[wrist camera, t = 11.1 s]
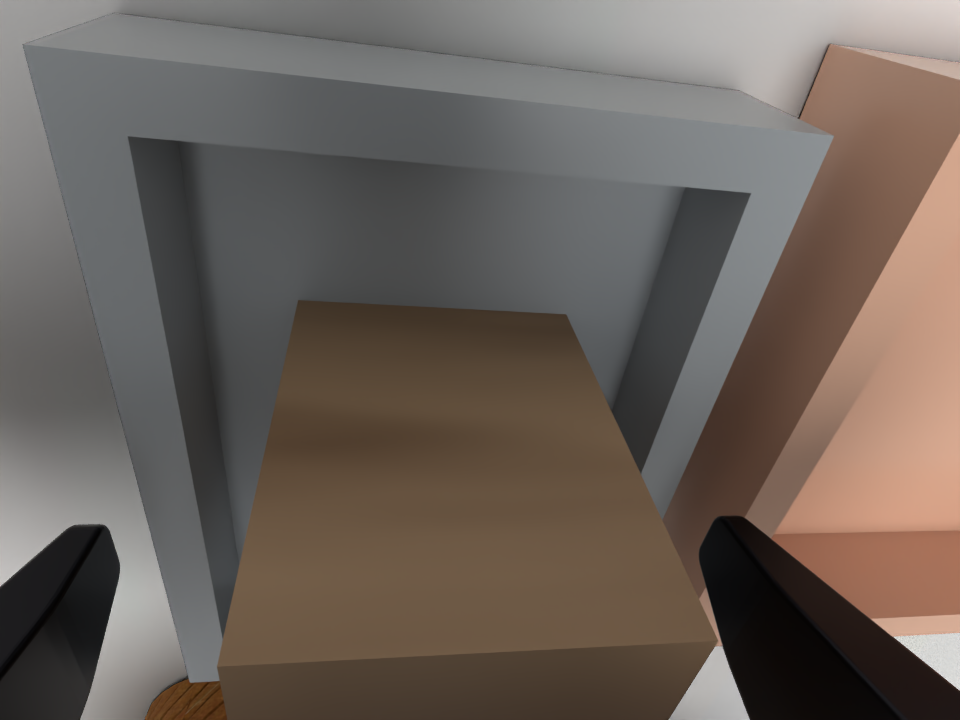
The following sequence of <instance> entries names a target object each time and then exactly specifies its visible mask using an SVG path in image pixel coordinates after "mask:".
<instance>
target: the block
mask: <svg viewBox="0 0 960 720" xmlns="http://www.w3.org/2000/svg"><path fill="white" fill-rule="evenodd" d="M717 642H718V639H717V637H716V635H715V632H714V630H713V628H712V626H711V624H710V622H709V620H708V617H707V615H706V613H705V611H704V609H703V607H702V604H701V602H700V600H699V598H698V596H697V594H696V592H695V589H694V587H693V585H692V583H691V581H690V579H689V577H688V574H687V572H686V570H685V568H684V566H683V564H682V562H681V559H680V557H679V555H678V553H677V551H676V549H675V547H674V544H673V542H672V540H671V538H670V536H669V534H668V532H667V529H666V527H665V525H664V523H663V521H662V519H661V517H660V514H659V512H658V510H657V508H656V506H655V504H654V502H653V499H652V497H651V495H650V493H649V491H648V489H647V486H646V484H645V482H644V480H643V478H642V476H641V474H640V471H639V469H638V467H637V465H636V463H635V461H634V459H633V456H632V454H631V452H630V450H629V448H628V446H627V444H626V441H625V439H624V437H623V435H622V433H621V431H620V429H619V426H618V424H617V422H616V420H615V418H614V416H613V414H612V411H611V409H610V407H609V405H608V403H607V401H606V399H605V396H604V394H603V392H602V390H601V388H600V386H599V384H598V381H597V379H596V377H595V375H594V373H593V371H592V368H591V366H590V364H589V362H588V360H587V358H586V356H585V353H584V351H583V349H582V347H581V345H580V343H579V341H578V338H577V336H576V334H575V332H574V330H573V328H572V326H571V323H570V321H569V319H568V317H567V315H566V314H551V313H532V312H513V311H494V310H475V309H456V308H437V307H418V306H399V305H380V304H361V303H342V302H323V301H304V300H298V303H297V307H296V312H295V316H294V321H293V325H292V330H291V334H290V339H289V343H288V348H287V352H286V357H285V362H284V366H283V371H282V375H281V380H280V384H279V389H278V393H277V398H276V402H275V407H274V411H273V416H272V420H271V425H270V429H269V434H268V438H267V443H266V447H265V452H264V456H263V461H262V465H261V470H260V474H259V479H258V483H257V488H256V492H255V497H254V501H253V506H252V510H251V515H250V519H249V524H248V528H247V533H246V538H245V542H244V547H243V551H242V556H241V560H240V565H239V569H238V574H237V578H236V583H235V587H234V592H233V596H232V601H231V605H230V610H229V614H228V619H227V623H226V628H225V632H224V637H223V641H222V646H221V650H220V655H219V659H218V664H217V670H218V675H219V680H220V685H221V690H222V695H223V700H224V705H225V710H226V715H227V720H668V719H669V718H670V716H671V715H672V713H673V712H674V710H675V708H676V707H677V705H678V704H679V702H680V701H681V699H682V697H683V696H684V694H685V693H686V691H687V690H688V688H689V686H690V685H691V683H692V682H693V680H694V679H695V677H696V675H697V674H698V672H699V671H700V669H701V668H702V666H703V664H704V663H705V661H706V660H707V658H708V657H709V655H710V653H711V652H712V650H713V649H714V647H715V646H716V644H717Z"/></svg>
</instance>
